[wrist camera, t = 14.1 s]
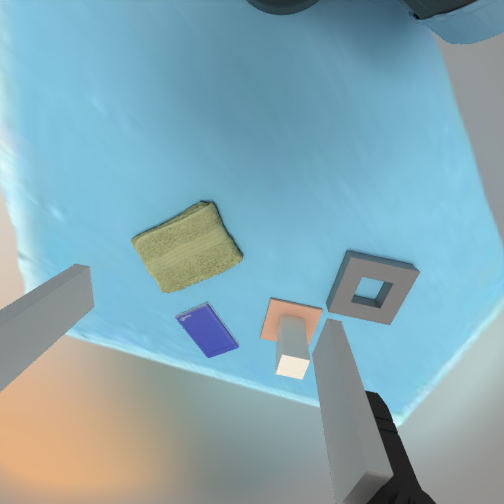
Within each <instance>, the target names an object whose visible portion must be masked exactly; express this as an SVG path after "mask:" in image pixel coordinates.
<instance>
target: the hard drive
mask: <svg viewBox="0 0 504 504" xmlns="http://www.w3.org/2000/svg"><path fill="white" fill-rule="evenodd" d="M175 318H176V319H177V321H178V322H179V323H180V324H181V325H182V327H183V328H184V329H185V330H186V332H187V333H188V334H189V335H190V337H191V338H192V339H193V340H194V342H195V343H196V344H197V345H198V347H199V348H200V349H201V350H202V352H203V353H204V354H205V355H206V357H207V358H210V357H213V356H216V355H219V354H222V353H225V352H228V351H231V350H234V349H237V348H238V347H239V343H238V342H237V341H236V339H235V338H234V336H233V335H232V334H231V332H230V331H229V329H228V328H227V327H226V325H225V324H224V322H223V321H222V320H221V318H220V317H219V316H218V314H217V313H216V311H215V310H214V309H213V307H212V306H211V305H210V303H209V302H206V303H204V304H202V305H199V306H197V307H195V308H192V309H190V310H187V311H185V312H183V313H180V314H178V315H176V317H175Z"/></svg>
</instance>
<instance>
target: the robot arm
mask: <svg viewBox="0 0 504 504" xmlns="http://www.w3.org/2000/svg"><path fill="white" fill-rule="evenodd" d="M247 1H248V2H249V3H250V4H252V5H253V6H254V7H256V8H258V9H260V10H262V11H264V12H267V13H270V14H276V15H288V14H293V13H297V12H300V11H302V10H305V9H306V8H308V7H310V6H312V5H313V4H315V3H316V2H317V1H319V0H247ZM399 1H400V2H401V3H402V4H403V5H404V6H405V7H406V8H407V9H408V10H409V11H410V12H409V15H410V17H411V18H412V20H414V21H415V22H417V23H420V24H423V25H426V26H427V27H428V28H430V29H431V30H432V31H433V32H435V33H436V34H437V35H438V36H440V37H441V38H442V39H443V40H445V41H446V42H449V43H451V44H458V43H459V44H472V43H476V42H479V41H483V40H486V39H489V38H491V37H494V36H496V35H498V34H501V33H502V32H504V0H399ZM93 307H94V302H93V293H92V285H91V276H90V267H89V266H84V265H79V264H74V265H73V266H71V267H70V268H68V269H66V270H65V271H63V272H61V273H60V274H58V275H57V276H55V277H53V278H52V279H50V280H48V281H47V282H45V283H44V284H42V285H40V286H39V287H37V288H35V289H34V290H32V291H31V292H29V293H27V294H26V295H24V296H22V297H21V298H19V299H18V300H16V301H14V302H13V303H11V304H9V305H8V306H6V307H5V308H3V309H1V310H0V392H1V391H2V390H3V389H4V388H5V387H6V386H7V385H9V384H10V383H11V382H12V381H13V380H14V379H15V378H16V377H17V376H18V375H20V374H21V373H22V372H23V371H24V370H25V369H26V368H27V367H28V366H29V365H30V364H32V363H33V362H34V361H35V360H36V359H37V358H38V357H39V356H40V355H41V354H43V353H44V352H45V351H46V350H47V349H48V348H49V347H50V346H51V345H53V344H54V343H55V342H56V341H57V340H58V339H59V338H60V337H61V336H63V335H64V334H65V333H66V332H67V331H68V330H69V329H70V328H71V327H72V326H74V325H75V324H76V323H77V322H78V321H79V320H80V319H81V318H82V317H83V316H85V315H86V314H87V313H88V312H89V311H90V310H91V309H92V308H93ZM312 356H313V363H314V369H315V376H316V382H317V389H318V395H319V402H320V408H321V414H322V421H323V428H324V434H325V441H326V447H327V453H328V459H329V466H330V473H331V479H332V486H333V492H334V498H335V504H436V503H435V502H434V501H433V500H432V499H431V497H430V496H429V495H428V494H427V493H425V492H424V491H422V489H421V487H420V485H419V483H418V481H417V479H416V476H415V474H414V471H413V468H412V466H411V464H410V461H409V459H408V456H407V454H406V451H405V449H404V446H403V444H402V441H401V439H400V437H399V435H398V431H397V429H396V426H395V424H394V423H393V419H392V417H391V414H390V412H389V409H388V407H387V405H386V404H385V403H384V401H383V400H382V398H381V397H380V396H379V394H378V393H374V392H370V391H365V390H364V387H363V384H362V381H361V378H360V375H359V372H358V369H357V366H356V363H355V360H354V357H353V354H352V352H351V349H350V346H349V343H348V340H347V337H346V334H345V331H344V328H343V325H342V322H341V321H337V320H333V319H328V318H327V320H326V322H325V325H324V327H323V330H322V332H321V334H320V337H319V339H318V342H317V344H316V347H315V349H314V351H313V354H312Z"/></svg>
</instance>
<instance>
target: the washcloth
mask: <svg viewBox="0 0 504 504" xmlns="http://www.w3.org/2000/svg"><path fill="white" fill-rule="evenodd" d="M131 243H132V245H133V247H134V248H135V249H136V251H137V253H138V254H139V256H140V257H141V259H142V261H143V263H144V264H145V266H146V268H147V270H148V272H149V274H150V275H151V276H153V277H154V278H155V280H156V281H157V283H158V285H159V287H160V290H161V291H162V292H163V293H164V292H167V293H171V292H173V291H179V290H182V289H184V288H185V287H187V286H191V285H192V284H195V283H198V282H200V281H203V280H204V279H208V278H210V277H212V276H214V275H218V274H220V272H221V273H223V272H224V271H225V270H227V269H229V268H231V267H233V266H235V265H236V264H238V263H240V261H243V260H242V259H243V257H242V255H241V254H240V252H239V250H238V249H237V247H236V245H235V244H234V242H233V239H232V238H231V237H230V236H229V235H228V234H227V232H226V230H225V228H224V227H223V225H222V220H221V218H220V217H219V214H218V212H217V209H216V207H215V205H214V204H213V203H212V202H209V203H204V202H199V203H198V204H196V205H192V207H190V208H189V209H188V210H185V212H183V213H182V214H180V215H178V216H176V217H175V218H173V219H171V220H170V221H169V222H166V223H164V224H162V225H160V226H158V227H157V228H154V229H150V230H149V231H146V232H144V233H141V234H140V235H137V236H135V237H134V238H132V239H131Z"/></svg>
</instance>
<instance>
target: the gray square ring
mask: <svg viewBox="0 0 504 504" xmlns="http://www.w3.org/2000/svg"><path fill="white" fill-rule="evenodd" d="M419 273H420V271H419V270H418V269H417V268H416V267H414V266H413V265H412V264H407V263H403V262H398V261H393V260H389V259H384V258H379V257H375V256H370V255H365V254H361V253H356V252H352V251H347V252H346V254H345V257H344V259H343V262H342V264H341V267H340V269H339V272H338V274H337V277H336V279H335V282H334V285H333V287H332V290H331V292H330V295H329V297H328V300H327V302H326V305H327V309H328V312H331V313H336V314H341V315H345V316H350V317H354V318H359V319H364V320H368V321H373V322H377V323H382V324H386V325H390V324H391V323H392V321H393V319H394V317H395V315H396V314H397V312H398V310H399V308H400V307H401V305H402V303H403V301H404V300H405V298H406V296H407V294H408V293H409V291H410V289H411V287H412V285H413V284H414V282H415V280H416V278H417V277H418V275H419ZM362 277H366V278H371V279H375V280H380V281H385V282H384V284H383V286H382V288H381V290H380V292H379V294H378V296H377V298H376V300H373V299H368V298H363V297H359V296H354V294H355V291H356V289H357V287H358V285H359V283H360V280H361V278H362Z"/></svg>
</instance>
